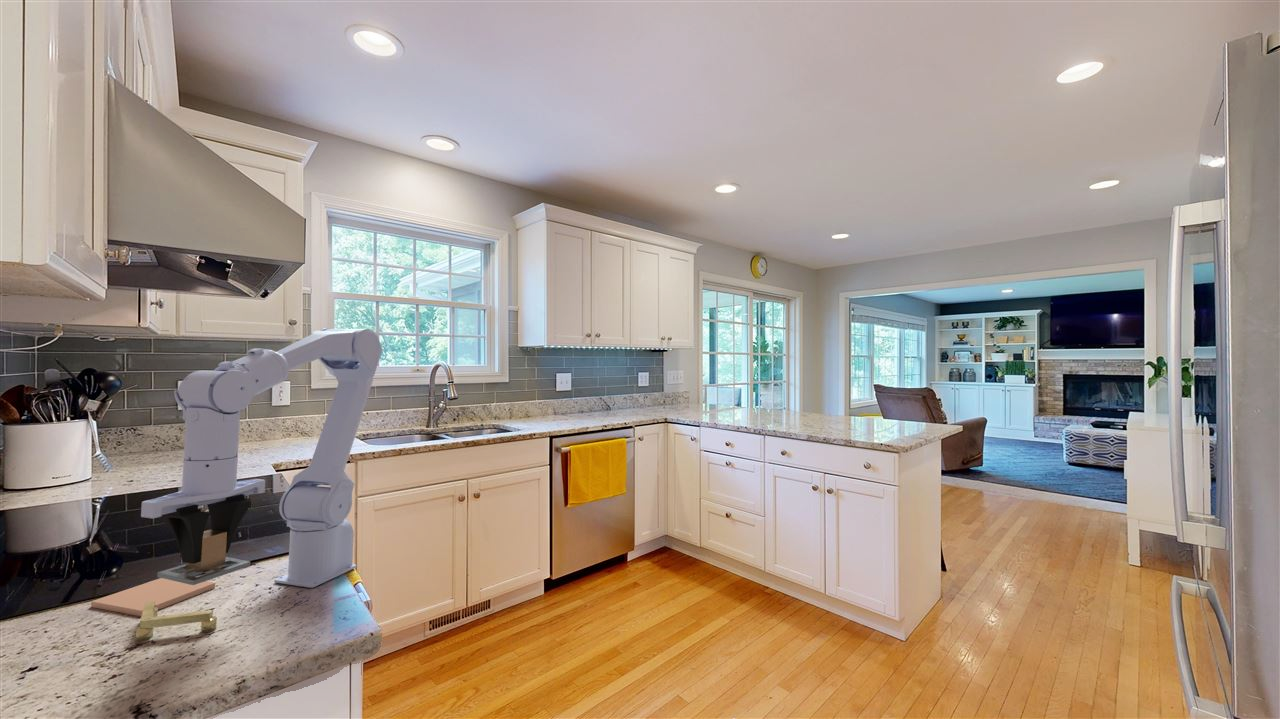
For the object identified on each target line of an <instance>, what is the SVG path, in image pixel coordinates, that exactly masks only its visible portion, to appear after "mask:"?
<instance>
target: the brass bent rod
mask: <svg viewBox="0 0 1280 719" xmlns="http://www.w3.org/2000/svg"><path fill="white" fill-rule="evenodd" d="M155 602H156V601H154V602H149V603H146V604H145V607H144V610H143V611H142V616H140V619H139V626H138V627H136V634H135V641H136V642H142V641H143V642H144V641H147V640H149V639H151V638H153V637H154V629H155V628H161V627H170V626H171V627H172V626H178V625H187V624H194V623H201V626H200V633H209V632H213V631H215V630H216V629H217V622H218V619H217V618H218V617H217V616H213V613H214V610H213V609H212V610H211V609H210V610H202V611H192V612H185V613H175V614H167V615H160V616H158V614H159V613H158V612H159V610H158V608H157V607H155Z"/></svg>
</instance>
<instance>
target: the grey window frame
mask: <svg viewBox="0 0 1280 719" xmlns="http://www.w3.org/2000/svg"><path fill="white" fill-rule="evenodd" d="M226 541H227V532H225V531H219V530H213V529H212V528H211V529H207V530H204V534H203V539H202V551H201V557H200V561H199V562H198V563H195V564H191V563H185V564H181V565H177V566H175V567H171V568H168V569H165V570H161V571H158V572H157V576H156V577H157V578H158V579H159V578H164V579H168V580H172V581H177V582H181V583H185V584H190V585H196V584H199V583H202V582H205V581H207V582H208V581H209V580H213V579H216V578H219V577H222V576H225V575H228V574H230V573H234V572H236V571H239V570H243V569H245V568H249V567H251V561H249V560H244V559H239V558H236V557H235V558H234V557H229V556H227V553H226ZM225 566H226V567H225ZM222 567H224V568H222ZM181 572H182V573H181ZM201 574H202V575H201ZM199 575H200V576H199Z"/></svg>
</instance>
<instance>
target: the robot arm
mask: <svg viewBox="0 0 1280 719" xmlns="http://www.w3.org/2000/svg"><path fill="white" fill-rule="evenodd" d="M382 352H383V347H382V345H381V341H380V339H379V336H378V335H377V333H376V332H375V331H374V330H373V329H371V328H362V329H361V328H358V329H357V328H351V329H350V328H332V327H325V328H321V329H320V330H313V331H312V332H311V333H310V335H307V336H304V338H301V339H299V340H298V341H296V342H293V343H292V344H289V345H288V346H285V347H284V348H281V349H279V350H277V351H275V350H272V349H268V348H262V347H261V348H258V347H257V348H256V347H253V348H251V349H248V351H247V354H248V355H245V356H242V357H240V358H237V359H236V360H235V359H234V360H232V361H226V360H224V361H222V362H219V363H218V364H217V365H218V366H217V367H215V369H214V370H195V371H193V372H190V373H189V374H188V375H187V376H185V378H184V379H183V380H182V381H181V382H180V384H179V387H178V389H177V390H176V389H175V390H174V392H173V393H174V394H173V395H174V399H175V402H176V403H177V405H178V406H179V407H180V408H181V410H182V420H183V421H184V423H185V428H184V443H183V446H184V447H183V463H182V478H181V479H182V480H181V482H182V483H181V489H180V490H179V491H177V492H174V493H169V494H166V495H162V496H159V497H156V498H152V499H147V500H144V501H141V507H140V508H141V510H140V517H141V518H147V519H157V518H160V517H161V519H162V520H163V521H164V523H165V524H166V525H167V527H168V528H169V529H170V530H169V531H170V532H171V533H172V535H173V537H174V539H175V541H176V543H177V547H178V550H179V553H180V558H181V561H182V563H185V564H186V563H191V564H195V563H198V562H199V561H200V557H201V551H202V539H203V534H204V531H206V530H205V528H206V526H207V523H208V520H209V518H210V523H211V524H210V526H211V529H213V530H219V531H225V532H227V541H226V554H228V553H229V552H230V548H231V545H232V542H233V539H234V536H235V534H236V532H237V529H238V527H239V525H240V523H241V521H242V519H243V518H244V516H245V515H246V513H247V512H248V510H249V509H250V508H251V506H252V499H251V498H245V496H249V495H254V494H255V495H257V494H258V495H259V494H263V493H266V479H260V478H253V479H247V480H239V481H237V480H238V458H239V443H240V441H239V440H240V424H241V423H240V422H241V411H244V410H245V409H246V408H248V406H249V405H250V404H251V402H252V400H253V398H254V397H255V396H257V395H259V394H261V393H263V392H265V391H267V390H269V389H271V388H274V387H275V386H277V385H279V384H282V383H283V382H285V381H286V380H287V378H288V376H289V372H290V371H292V370H295V369H296V368H298V367H302V366H304V365H306V364H308V363H311V362H314V361H317V360H318V361H320V363H321V364H322V365H323V366H324V368H325V369H326V370H327V371H328V373H329V374H330V375H331V376H332V377H335V379H336V381H337V387H336V389H335V392H334V395H333V398H332V402H330V403H331V404H330V407H329V409H328V412H327V415H326V418H325V422H324V424H323V425H322V428H321V433H320V435H319V438H318V441H317V444H316V447H315V450H314V452H313V455H312V459H311V460H310V461H311V462H310V464H309V466H307V467H306V468H304V469H303V470H301V471H300V472H298V473H296V474H295V475H294V476H293V478H292V480H291V483H290V485H289V486H288V488H287V489H286V490H285V491H284V493H283V494H282V496H281V498H280V501H279V504H278V505H279V506H278V509H279V514H280V516H281V518H282V519H283V520H285V521H286V527H287V528H288V527H289V529H290V530H289V547H288V565H287V566H288V567H287V568H288V571H287V573H286V574H284V575H282V576H278V577H276V578H275V579H274V583H277V584H283V585H289V586H290V585H291V586H295V587H304V588H309V589H312V588H315V587H318V586H319V585H321V584H324V583H326V582H328V581H330V580H333V579H335V578H337V577H339V576H341V575H343V574H345V573H347V572H349V571H352V570H353V569H356V568H357V564H355V563H353V558H354V534H355V533H354V529H353V525H352V524H351V522H350V521H349V520H347V519H346V518H347V517H348V515H349V514H350V512H351V510H352V507H353V506H352V505H353V490H354V487H355V482H354V481H353V479H351V478H350V476H349V475H348V474H347V473H346V471H345V469H346V465H347V463H348V460H349V456H350V454H351V451H352V447H353V444H354V440H355V438H356V435H357V432H358V428H359V426H360V423H361V419H362V416H363V414H364V410H365V407H366V404H367V400H368V398H369V394H370V391H371V388H372V385H373V381H374V376H375V375H376V370H377V368H378V365H379V361H380V358H381V355H382ZM206 505H207V508H208V511H202V509H201V508H199V507H201V506H206Z"/></svg>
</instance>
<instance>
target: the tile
mask: <svg viewBox="0 0 1280 719" xmlns="http://www.w3.org/2000/svg"><path fill="white" fill-rule="evenodd" d="M215 588H216V582H212V581H208V580H207V581H205V582H202V583H199V584H196V585H190V584H185V583H181V582H177V581H172V580H168V579H164V578H159V577H158V578H157V579H154V580H151V581H148V582H145V583H142V584H139V585H136V586H134V587H130V588H127V589H124V590H121V591H118V592H115V593H112V594H109V595H105V596H103V597H100V598H97V599H95V600H91V601H90V607H91V608H95V609H101V610H106V611H111V612H116V613H123V614H127V615H130V616H131V615H132V616H138V617H141V616H142V611H143V610H144V607H145V604H146V603H149V602H154V601H156V602H155V607H157V608H158V611H159V610H161V609H164V608H166V607H169V606H172V605H175V604H176V603H180V602H182V601H185V600H187V599H190V598H192V597H195V596H197V595H199V594H202V593H206V592H208V591H211V590H213V589H215Z"/></svg>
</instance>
